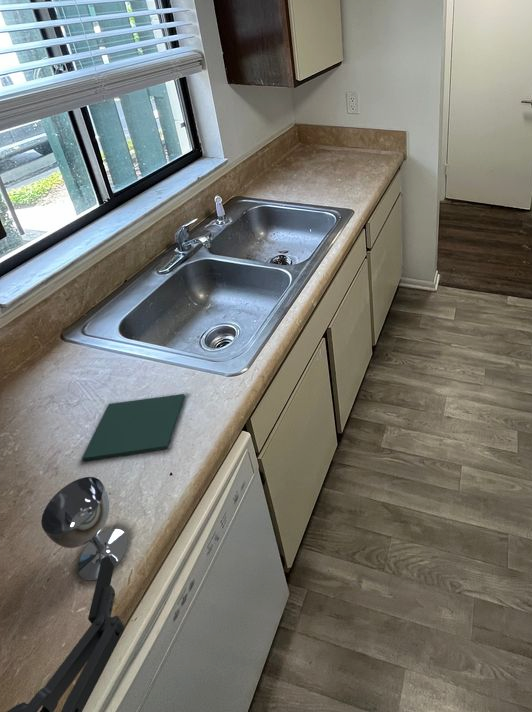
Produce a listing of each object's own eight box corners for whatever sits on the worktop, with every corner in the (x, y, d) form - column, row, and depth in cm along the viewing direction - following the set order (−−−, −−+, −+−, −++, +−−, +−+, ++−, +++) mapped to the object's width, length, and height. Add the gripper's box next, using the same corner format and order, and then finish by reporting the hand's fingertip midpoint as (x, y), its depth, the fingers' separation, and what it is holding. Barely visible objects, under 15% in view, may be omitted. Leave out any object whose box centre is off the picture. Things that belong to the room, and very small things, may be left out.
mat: (83, 461, 87) (81, 458, 87) (110, 406, 98) (108, 403, 98) (167, 448, 90) (166, 445, 89) (185, 396, 100) (184, 393, 100)
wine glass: (69, 593, 69) (33, 544, 63) (81, 537, 76) (50, 488, 69) (126, 570, 72) (97, 520, 65) (133, 518, 78) (108, 468, 72)
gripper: (-186, 949, 39) (-51, 636, 57) (128, 794, 46) (159, 559, 64) (-241, 938, 36) (-79, 610, 54) (105, 773, 43) (146, 532, 61)
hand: (51, 582), depth 59 cm, fingers open, 13 cm apart
